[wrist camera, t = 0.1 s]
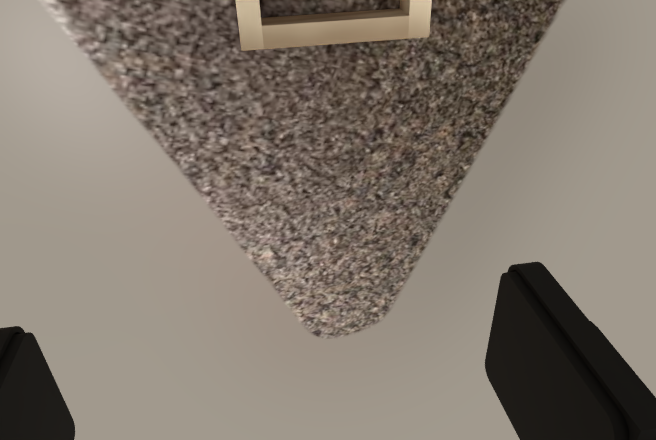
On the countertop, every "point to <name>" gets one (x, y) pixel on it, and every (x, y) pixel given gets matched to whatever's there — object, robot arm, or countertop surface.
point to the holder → (331, 26)
